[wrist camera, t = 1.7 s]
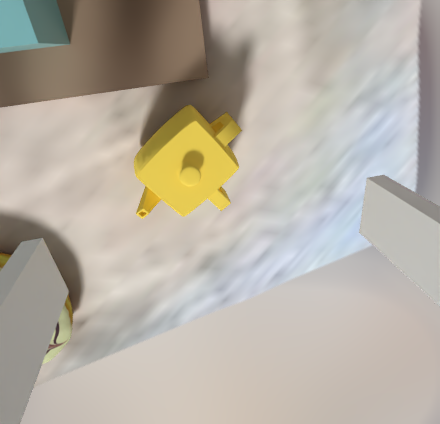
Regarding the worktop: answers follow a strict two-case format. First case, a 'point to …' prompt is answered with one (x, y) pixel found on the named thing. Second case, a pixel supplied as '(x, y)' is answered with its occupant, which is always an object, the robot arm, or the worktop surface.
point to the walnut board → (109, 51)
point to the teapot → (187, 162)
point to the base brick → (30, 25)
